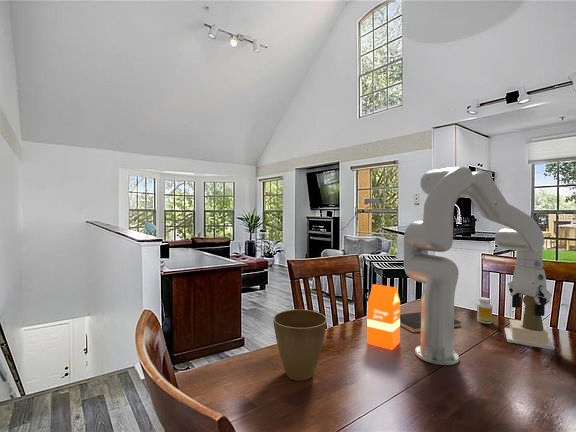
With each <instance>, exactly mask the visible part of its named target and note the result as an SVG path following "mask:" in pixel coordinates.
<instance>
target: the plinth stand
mask: <svg viewBox="0 0 576 432" xmlns="http://www.w3.org/2000/svg"><path fill="white" fill-rule="evenodd" d="M522 325H523V320H519V319H518V320H517V319H509V328H508V327H504V333H505V337H506V341H507V342H508V343H513V344H518V345H524V346H528V347H535V348H541V349H547V350H553V351H555V346H554V344H553V342H552V341H551V339H550V337H549V332H548V330H547V328H546V326H545V325H544V324H543V328H544V330H532V329H527V328H524V327H523V326H522Z"/></svg>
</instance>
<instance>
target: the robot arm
mask: <svg viewBox="0 0 576 432" xmlns="http://www.w3.org/2000/svg"><path fill="white" fill-rule="evenodd" d="M420 188H421V189H422V191H423V193H425V194H426V195H427V197H426V199H425V201H424V204H423V215H422V216H423V218H422V220H417V221H416V220H415V221H413V222H411V223H409V224H408V225H407V227H406V229H405V231H404V234H403V268H404V272H405V275H406V276H407V277H408V279H410V280H412V281H415V282H418V283H421V284H422V283H423V284H424V285H426V286H425V289H424V290H423V293H422V294H421V297H420V312H421V331H420V344H419V345H418V346H416V347H415V349H414V353H415V355H416V357H418V358H419V359H420V360H422V361H424V362H427V363H431V364H434V365H438V366H439V365H441V366H452V365H456V364H457V363H459V361H460V356H459V353H457V352H456V351H455V350H454V347H455V346H454V343H455V342H454V341H455V340H454V339H455V337H454V336H455V334H454V333H455V332H454V331H455V327H454V319H455V296H456V288H457V284H458V280H459V275H460V274H459V273H460V272H459V268H458V265H457V264H456V263H455V262H454V261H453V260H451V259H450V258H447V257H444V256H440V255H435V254H434V255H433V254H429V251H430V252H436V253H444V252H447V251H450V249H451V248H452V246H453V241H454V211H455V210H454V209H455V205H456V203H457V202H458V199H460V198H469V199H470V201H471V202H472V204H473V205H474V206H475V207H476V209H477V210H478V211H479V213H480V214H481V216H482V217H483V218H484V219H486V220H489V221H490V222H493V223H496V224H499V225H502V226H504V227H506V228H501V229H500V230H498V231H497V232H496V233H495V236H494V243H495V244H496V245H497V246H498V247H499V248H501V249H504V250H510V251H511V250H512V251H516V255H515V256H516V259H515V260H516V262H515V266H514V270H513V277H512V281H509V282H508V283H507V286H508V291H509V292H510V296H511V307H512V308H513V309H514V308H515V309H516V308H517V309H519V308H521V307H522V296H521V295H523V296H529V297H533V298H534V299H535V301H536V303H537V304H535V316H541V317H544V316H545V313H546V311H545V310H546V308H545V307H546V305H547V304H548V303H549V302H550V301H551V298H552V295H553V294H552V292H550V291H549V290H548V289H547V288H548V287H547V278H546V271H545V269H543V267H544V265H545V264H544V263H543V253H544V251H543V250H544V249H543V248H544V246H545V236H544V233H543V231H542V229H541V228H540V227H539V225H538V224H537V222H536V220H534V218H532V217H531V216H530V215H529V214H527V213H525V212H524V211H522V210H520V209H519V208H517V207H515V206H514V205H513V204H510V203H509V202H508V201H507V200H506V198H505V196H504V194H502V192H501V190H500V188H499V187H498V186H497V184H496V183H495V181H494V179H493V178H492V177H491V175H490V174H489V173H487V172H486V171H480V170H479V171H472V170H471V169H470V168H468V167H465V166H451V167H444V168H439V169H432V170H429V171H427V172H425V173H424V174H423V175H422V177H421V178H420ZM539 298H540V300H539Z"/></svg>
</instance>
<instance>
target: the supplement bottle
mask: <svg viewBox="0 0 576 432" xmlns="http://www.w3.org/2000/svg"><path fill="white" fill-rule="evenodd" d="M478 301H479V302H477V307H476V321H477V322H479V323H482V324H488V325H489V324H492V323H493V305H492V304H491V299H490V298H488V297H483V296H480V297H479V298H478Z"/></svg>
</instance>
